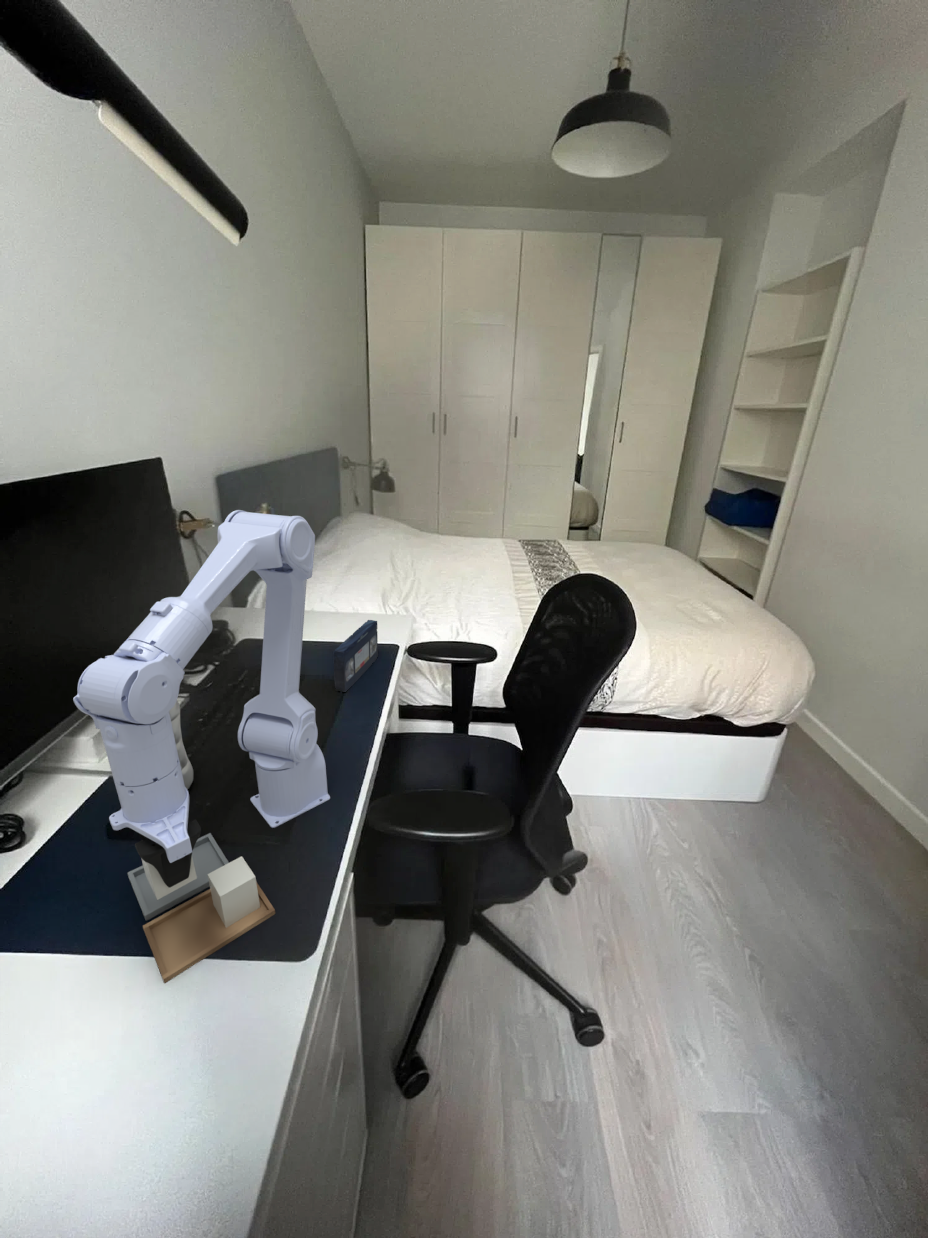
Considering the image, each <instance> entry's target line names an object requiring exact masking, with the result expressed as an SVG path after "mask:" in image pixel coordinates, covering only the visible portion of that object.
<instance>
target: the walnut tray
mask: <svg viewBox="0 0 928 1238" xmlns="http://www.w3.org/2000/svg"><path fill="white" fill-rule="evenodd" d="M256 883H257V890H258V897H259V903H260V908H258V909H256V910H255V911H253V912H252V913H250V914H248V915H247V916H245V917H243V918H242V919H240V920H238V921H237V922H235V923H233V924H232V925H230V926H228V927H227V928H226V927H225V925H224V923H223V921H222V919H221V918H220V916H219V914H218V912H217V910H216V908H215V907H214V905H213V900H212V895H211V890H210V888H209V889H207V890H205V891H204V892H200V894H198V895H196V896H194V897H193V898H191V899H189V900H187V901H185V902H183V903H182V904H179V905H178V906H176V907H175V908H171V909H170V910H169V911H166V912H164V913H163V914H162V915H160V916H158V917H156V918H154V919H152V920H151V921H149V922H146V923H145V924H143V925H142V929H143V932H144V934H145V936H146V937H145V938H146V940H147V943H148V945H149V947H150V950H151V952H152V955H153V958H154V961H155V963H156V966H157V968H158V971H159V973H160V976H161V978H162V981H163V983H164V984H166V983H168V982H170V981H171V980H172V979H175V978H176V977H177V976H179V975H181V974H183V973H184V972H185V971H186V970H188V969H190V968H192V967H194V966H195V965H196V964H198V963H200V962H202V961H203V960H204V959H206V958H208V957H209V956H211V955H213V954H214V953H216V952H217V951H219V950H220V949H222V948H223V947H225V946H226V945H228V944H231V943H232V942H233V941H235V940H236V939H237V938H239V937H241V936H242V935H244V934H246V933H247V932H249V931H250V930H252V929H253V928H255V927H257V926H259V925H260V924H262V923H264V922H265V921H266V920H268V919H270V918H271V917H273V916H274V915H275V914H276V910H275V908H274V906H273V905H272V903H271V902H270V900H269V899H268V897H267V896H266V893H264V890H263V889H262V888H261V887H260V884H258V882H257V881H256Z"/></svg>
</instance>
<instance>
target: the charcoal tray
mask: <svg viewBox="0 0 928 1238" xmlns="http://www.w3.org/2000/svg"><path fill="white" fill-rule="evenodd" d="M192 858H193V863H194V867H195V871H196V876H197V879H195V880H193V881H191V882H189V883H188V884H186V885H184V886H182V887H180V888H178V889H177V890H175V891H173V892H171V893H169V894H168V895H166V896H164V897H162V898H160V899H158V900H157V898H156V896H155V894H154V892H153V890H152V888H151V886H150V883H149V881H148V879H147V877H146V874H145V870H144V867H143V864H142V865H141V866H139V867H136V868H134V869H131V870H130V871H128V872H127V876H128V879H129V882H130V884H131V887H132V890H133V892H134V894H135V897H136V900H137V902H138V904H139V907H140V909H141V911H142V915H143V917H144V919H145V921H146V922H147V921H149V920H151V919H153V918H154V917H157V916H158V915H160V914H162V913H165V911H166V912H167V910H169V909H172V907H175V906H177V905H178V904H180V903H182V902H184V901H186V900H187V899H189V898H191V897H193V896H195V895H197V894H198V893H201V892H202V891H204V890H206V889H208V888H210V884H209V879H208V874H209V873H211V872H213V871H215V870H217V869H218V868H220V867H222V866H224V865H226V864H228V863H230V862H229V860H228V859H227V858H226V856H225V854H224V853H223V851H222V849H221V847H220V846H219V845H218V843H217V841H216V840H215V838H214V837H213V835H212V833H211V832H209V833H207V834H205V835H203V836H200V837H199V838H198V840H197V842H196V844H195V846H194V849H193V852H192Z"/></svg>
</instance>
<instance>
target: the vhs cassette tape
mask: <svg viewBox="0 0 928 1238" xmlns="http://www.w3.org/2000/svg"><path fill="white" fill-rule="evenodd" d="M378 634H379V633H378V620H373V619H368V620H367V621H365V622H364V623H363V624H362V625H361V626H359V627H358V628H357V629H356V630H355V631H354V632H353V633H352V634H351V635H350V636H349V637H347V638H346V639H345V640H344V641H343V642H342V643H341V644H340V645H339V646H338V647H337V648H335V649H334V650H333V651H332V653H333V655H332V658H333V659H332V660H333V675H334V677H333V678H334V689H335V688H336V689H340V690H342V691H343V692H346V691H347V690H348V689H349V688H350V687H351V686H352V687H353V685H354V684H355V683H356V682H357V681H358V680H359V679H360V678H361V677H362V675H364V674H365V672H367V671H368V669H369V668H370V667H372V665H373V664H374V663H375V661H376V660H377V659H378V658H379V657H378V656H379V655H378V653H379V652H378V651H379V650H378V649H379V647H378V645H379V644H378ZM377 657H378V658H377ZM373 662H374V663H373ZM372 663H373V664H372ZM352 687H351V688H352ZM351 688H350V689H351ZM350 689H349V690H350ZM349 690H348V691H349ZM348 691H347V692H348ZM347 692H346V693H347Z"/></svg>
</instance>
